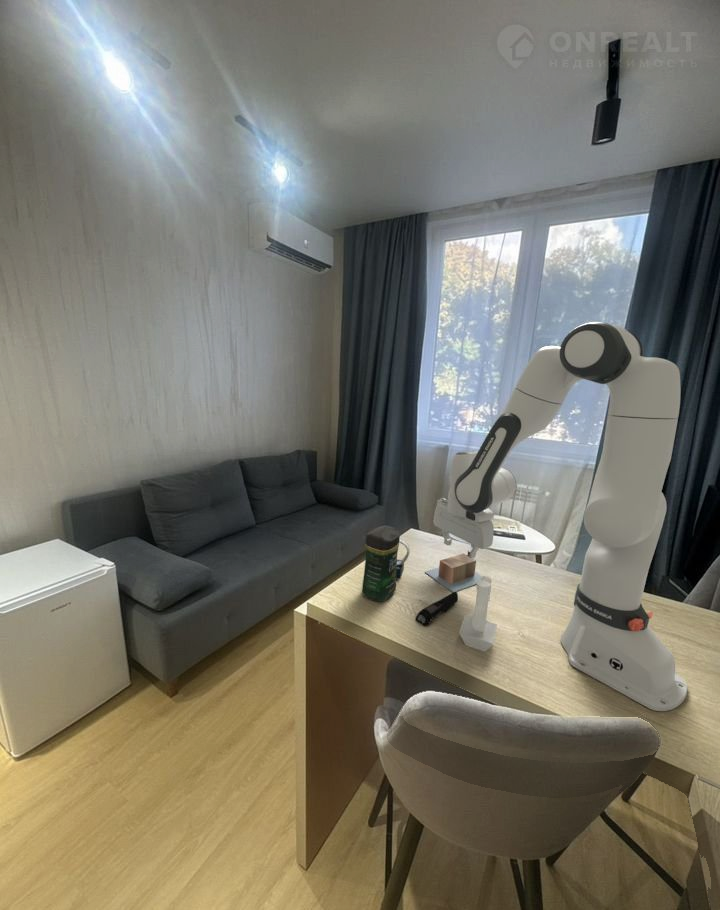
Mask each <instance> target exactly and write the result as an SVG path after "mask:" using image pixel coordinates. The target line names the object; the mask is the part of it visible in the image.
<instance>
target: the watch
mask: <svg viewBox="0 0 720 910" xmlns="http://www.w3.org/2000/svg"><path fill="white" fill-rule="evenodd" d="M399 544H402V545H403V546H404V547H405V548H406V554H405V555H404V557H403V558H401V559H398V558H397V567H396V579H399V580H400V579H401V578H402V574H403V572H404V570H405V569H404V567H405V563H406V561H407V560H408V558H409V555H410V551H411V549H410V546H409V544H408V542H407V541H406V540H404V539H403V538H400V540H399Z"/></svg>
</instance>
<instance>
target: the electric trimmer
mask: <svg viewBox="0 0 720 910" xmlns="http://www.w3.org/2000/svg"><path fill="white" fill-rule="evenodd" d="M458 599H459V595H458V591H457V592H451V593H449V594H448V595H446V596H444V597H442V598H441V599H439V600H437V601H434V602H433V603H432V604H431V603H430V605H428V606H425V607H423V609H421V610H420V611H419V612H418V613H417V614H416V616H415V621H416V622H417V623H419V624H420V625H422V626H423V627H426V626H427V627H428V626H429V625H430V623H431V620H433V619H435V618H436V617H437V616H439V615H441V614H442V613H443V612H444V613H447V612H448V611H449V610H450V609H451V608H452V607H453V606H454V605H455V604H456V603H457V602H458Z"/></svg>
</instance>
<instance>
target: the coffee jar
mask: <svg viewBox="0 0 720 910" xmlns="http://www.w3.org/2000/svg"><path fill="white" fill-rule="evenodd" d="M400 537H401V536H400V532H399V530H398V529H397V528H395V527H392V526H389V525H386V524H384V525H382V526H378V527H376V528H374V529H372V530H371V531H369V532H367V533H366V536H365V542H364V543H365V544H364V545H365V546H364V547H365V561H364V562H365V563H364V571H363V580H362V588H361V589H362V590H361V593H362V595H364V596H365V597H366V598H367V599H369V600H371V601H376V602H385V601H386V600H388V599H389V598H390V597H392V595H393V594H394V593H395V592H396V587H397V578H396V567H397V559H398V552H399V546H400V543H399V540H400Z"/></svg>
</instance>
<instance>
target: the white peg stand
mask: <svg viewBox="0 0 720 910" xmlns="http://www.w3.org/2000/svg"><path fill="white" fill-rule="evenodd" d="M491 591H492V579H491V578H490V576H486V575H484V576H482V578H481V581H478V582H477V584H476V597H475V605H474V606H473V607H474V608H473V612H472V616H471V615H469V614H464V617H463V619H462V622H461V626H460V629H459V631H458V632H459V635H460V637H461V639H462V640H463V641H462V642H463V644H464V645H465V646H467V647H470V648H473V649H476V650H479V651H482V652H484V653H485V652H487V650H489V649H490V648H491V647H492V646H493V645H494V643H495V639H496V638H495V637H496V633H497V626H498V623H494V622H492V621H488V620H487V614H488V609H489V608H488V607H489V602H490V599H491V597H490V596H491V593H492V592H491Z"/></svg>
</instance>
